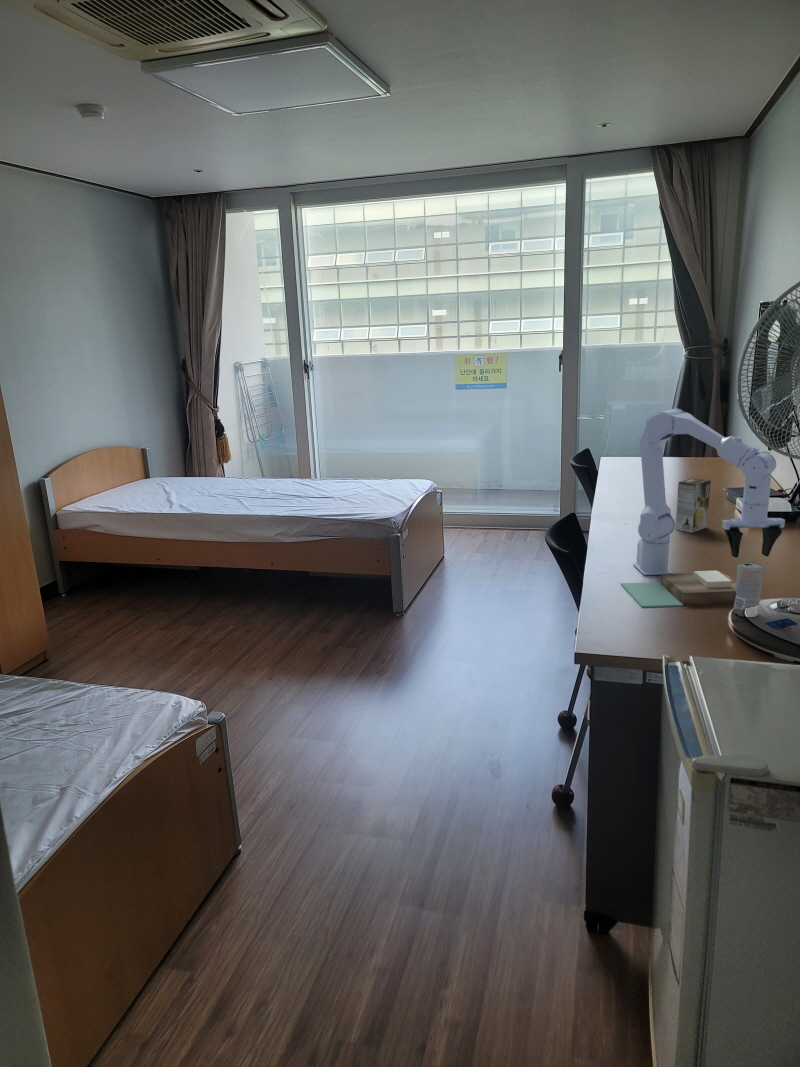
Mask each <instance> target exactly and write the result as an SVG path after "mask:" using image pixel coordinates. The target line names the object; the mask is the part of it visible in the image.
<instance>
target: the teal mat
mask: <svg viewBox="0 0 800 1067" xmlns="http://www.w3.org/2000/svg"><path fill="white" fill-rule="evenodd" d="M620 586H621V587H622V588H623V589H624V590H625V592H626V593H628V594H629V595H630V597H633V598H632V600H634V601H635V602H636V603H637V604H638V605H639V607H641V608H662V607H663V608H665V607H667V608H668V607H669V608H670V607H683V606H684V604H682V603H681V602H680V601H679V600H678V599H676V598H675V597H674V596H673V595H672V594H671V593H670V592H669V591H668V590H667V589H666V588H665V587H663V586H662V585H661V582H660V581H652V582H651V581H647V582H646V581H645V582H621V583H620Z"/></svg>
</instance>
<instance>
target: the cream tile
mask: <svg viewBox="0 0 800 1067" xmlns="http://www.w3.org/2000/svg"><path fill="white" fill-rule="evenodd" d="M720 572H721V571H719V570H696V571H695V570H694V571H693V573H694V574H693V577H694V578H695V579H697V580H698V581H699V582H700V583H702V584H703V585H704V586H705V587H707V588H710V587H731V580H729V579H728V578H727V577H725V576H724V575H723V574H721V573H720Z"/></svg>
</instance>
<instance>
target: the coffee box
mask: <svg viewBox="0 0 800 1067" xmlns="http://www.w3.org/2000/svg"><path fill="white" fill-rule="evenodd" d="M711 481H712V480H710V479H702V478H694V477H692V478H688V479H685V480H682V481H679V482H678V487H677V502H676V515H675V529H674V530H677V531H681V532H686V533H691V534H692V533H695V532H698V531H701V530H705V529H706V528H707V525H708V516H709V515H708V513H709V504H710V491H711V483H712V482H711Z"/></svg>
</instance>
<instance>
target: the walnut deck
mask: <svg viewBox="0 0 800 1067" xmlns="http://www.w3.org/2000/svg"><path fill="white" fill-rule="evenodd" d="M719 572H720V573H721V574H723V575H724V576H725V577H727V578H728V579H729V580H731V587H710V588H707V587H705V586H704V585H703V584H702V583H700V582H699V581H698V580H697V579H695V578H694V577H693V574H694V572H680V573H679V572H676V573H674V572H673V574H662V575H661V578H660V580H661V581H660V584H661V585H662V586H663V587H665V588H666V589H667V590H668V591H669V592H670V593H671V594H672V595H673V596H674V597H675V598H676V599H678V600H679V601H680V602H681V603H682V604H683V605H707V604H734V596H735V587H736V580H735V579H733V578H732V577H731V576H730V575H728V574H727V573H725V572H724V571H719Z"/></svg>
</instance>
